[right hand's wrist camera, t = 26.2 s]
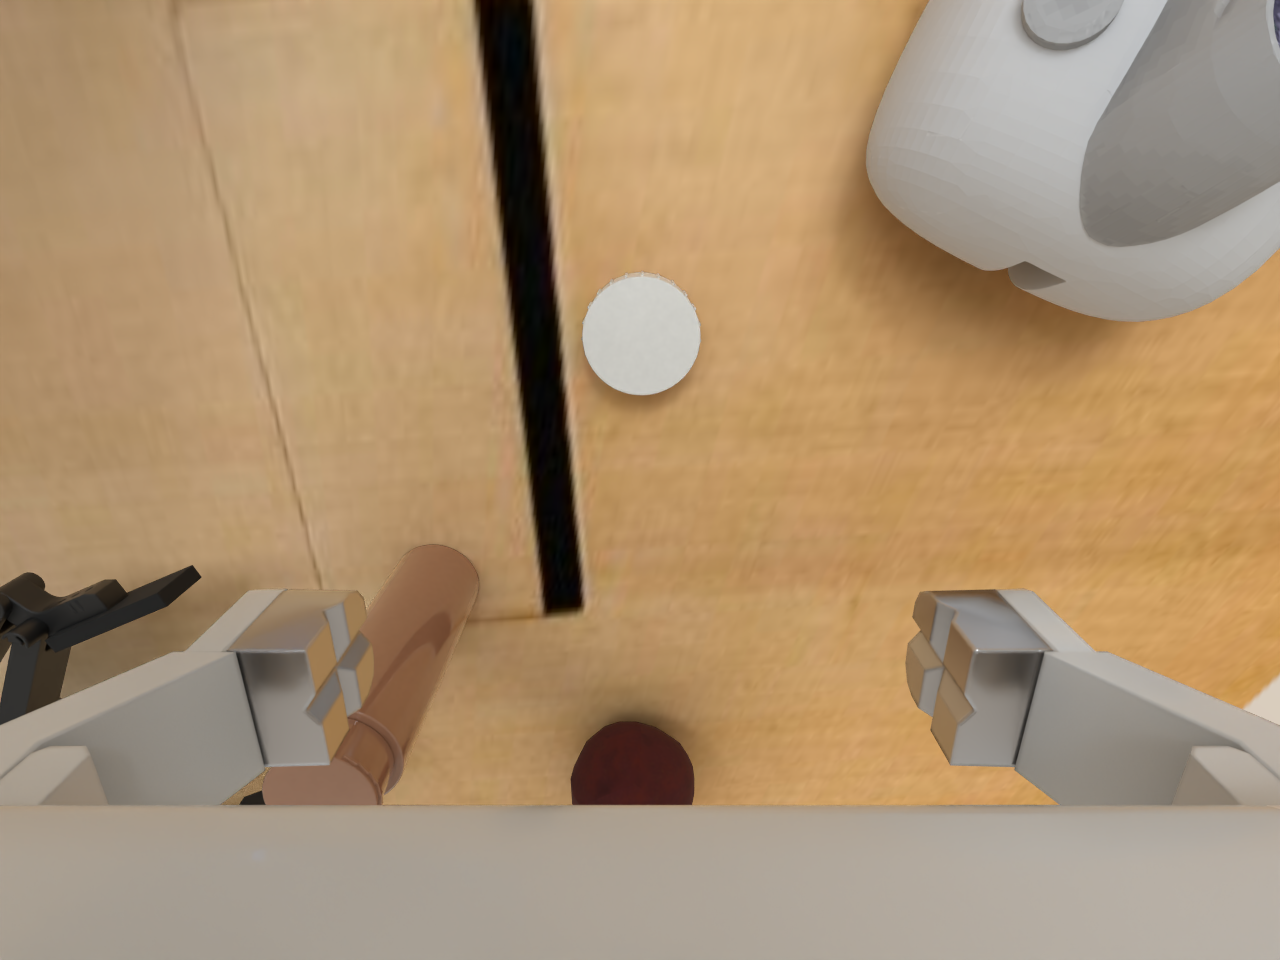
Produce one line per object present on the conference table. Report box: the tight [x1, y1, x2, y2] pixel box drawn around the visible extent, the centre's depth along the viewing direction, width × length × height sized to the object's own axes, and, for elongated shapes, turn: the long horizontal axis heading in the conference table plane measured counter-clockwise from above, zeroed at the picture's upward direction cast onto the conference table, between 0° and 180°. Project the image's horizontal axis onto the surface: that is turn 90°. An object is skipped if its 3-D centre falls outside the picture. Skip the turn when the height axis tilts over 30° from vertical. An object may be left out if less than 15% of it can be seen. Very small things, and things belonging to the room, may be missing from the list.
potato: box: [571, 722, 694, 805], centre depth 41 cm, size 7×8×7 cm
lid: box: [582, 271, 701, 395], centre depth 34 cm, size 6×6×2 cm
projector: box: [866, 0, 1280, 322], centre depth 23 cm, size 22×23×15 cm
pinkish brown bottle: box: [262, 545, 479, 805], centre depth 33 cm, size 5×5×16 cm
